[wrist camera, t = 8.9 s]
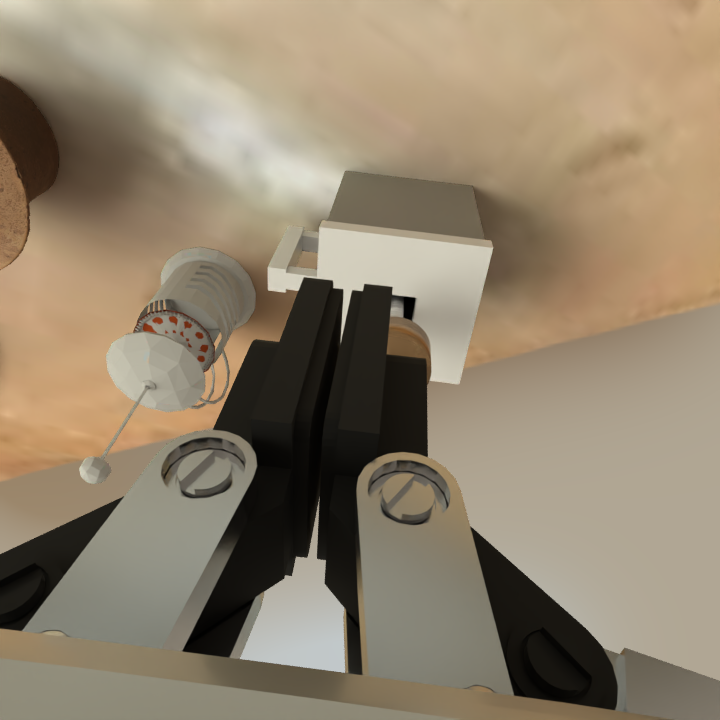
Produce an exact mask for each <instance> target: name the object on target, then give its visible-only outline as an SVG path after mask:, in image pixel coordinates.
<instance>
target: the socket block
mask: <svg viewBox="0 0 720 720" xmlns="http://www.w3.org/2000/svg"><path fill="white" fill-rule="evenodd" d="M302 251H307V252H316V253H318V265H317V269H310V268H302V267H296V266H297V263H298V261H299V259H300V256H301V254H302ZM492 251H493V245H492V241H491V240H485V238H484V233H483V229H482V225H481V220H480V216H479V212H478V208H477V203H476V199H475V195H474V190H473V186H468V185H459V184H451V183H442V182H434V181H425V180H417V179H409V178H400V177H392V176H383V175H375V174H366V173H358V172H349V171H345V173H344V176H343V178H342V181H341V184H340V187H339V190H338V193H337V195H336V198H335V201H334V204H333V207H332V210H331V212H330V215H329V218H328V221H324V220H322V221H321V224H320V227H319V232H314V231H306V230H304V227H299V226H291V225H288V227H287V229H286V231H285V233H284V235H283V237H282V239H281V241H280V243H279V245H278V247H277V249H276V251H275V253H274V255H273V257H272V259H271V261H270V263H269V266H268V291H277V292H285V293H286V291H287V289H288V290H296V291H299V288H300V286H301V283H302V280H303V278H304V277H307V278H316V279H326V280H333V286H334V287H333V288H338V289H343V292H344V294H343V311H342V327H341V340H342V335H343V330H344V325H345V321H346V316H347V311H348V307H349V302H350V297H351V293H352V290H357V291H363V288H364V284H372V285H381V286H390V287H393V290H392V295H398V296H404V308H403V318H406V319H408V320H411V321H413V322H415V323H416V324H418V325H419V326H420V327H421V328H422V329H423V330H424V331H425V332H426V334H427V336H428V338H429V340H430V345H431V377H430V380H429V381H436V382H444V383H452V384H459V383H460V379H461V375H462V371H463V367H464V363H465V359H466V355H467V351H468V347H469V343H470V339H471V335H472V331H473V327H474V323H475V319H476V315H477V311H478V307H479V303H480V299H481V295H482V291H483V287H484V283H485V279H486V275H487V271H488V267H489V263H490V259H491V255H492ZM340 344H341V343H340Z"/></svg>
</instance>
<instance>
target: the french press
mask: <svg viewBox="0 0 720 720" xmlns="http://www.w3.org/2000/svg"><path fill="white" fill-rule="evenodd" d="M163 299H165V305H166V310H163ZM158 300H160V311H158ZM154 301H155V311H154V312H152V311H153V302H154ZM255 301H256V292H255V289H254V286H253V283H252V281H251V278H250V276H249V275H248V274H247V272H246V271H245V270H244V269H243V268H242V267H241V265H240V264H239V263H238V262H237V261H235V260H234V259H232V258H230V257H229V256H227V255H225V254H224V253H222V252H220V251H217V250H212V249H208V248H203V247H195V248H190V249H184V250H180V251H179V252H178V253H176V254H175V255H173V256H172V257H171V258H169V259H168V260H167V262H166V264H165V266H164V268H163V270H162V273H161V288H160V289H159V290H158V292H157V293H156V294H155V295H154V297H153V298H152V299H151V300H150V302H149V303H148V304H147V306H146V307H145V308H144V310H143V311H142V312H141V314H140V316H139V318H138V320H137V325H136V327H135V329H134V331H133V332H134V333H129V334H126V335H124V336H123V337H121V338H119V339H118V340H116V341H114V342H113V343H112V345H111V347H110V349H109V351H108V353H107V355H106V359H107V369H108V373H109V374H110V376H111V378H112V380H113V381H114V383H115V385H116V386H117V387H118V388H119V389H120V390H121V391H122V392H123V393H124V394H125V395H126V396H128V397H129V398H130V399H131V400H133V401H135V402H136V403H135V405H134V406H133V408H132V410H131V411H130V413H129V414H128V416H127V417H126V419H125V421H124V422H123V424H122V425H121V427H120V428H119V430H118V431H117V433H116V435H115V436H114V438H113V439H112V441H111V442H110V444H109V446H108V447H107V449H106V450H105V452H104V453H103V455H102V456H101V458H99V457H88V458H86V459H85V460H84V462H83V463H82V465H81V467H80V469H79V470H80V475H81V477H82V478H83V479H84V480H85V481H86V482H88V483H94V484H96V483H102V482H103V481H105V480H106V478H107V477H108V475H109V474H110V473H111V467H110V465H109V464H108V463H107V462H106V461H105V460H103V459H104V458H105V456H106V455H107V453H108V451H109V450H110V448H111V447H112V445H113V443H114V442H115V440H116V439H117V437H118V436H119V434H120V432H121V431H122V429H123V428H124V426H125V425H126V423H127V421H128V420H129V418H130V417H131V415H132V413H133V412H134V410H135V409H136V407H137V406H138V404H141V405H143V406H145V407H147V408H150V409H155V410H160V411H164V412H172V411H181V410H185V409H187V408H192V409H199V408H201V407H203V406H205V405H206V404H215V403H217V402H219V401H220V400H222V398H223V397H224V395H225V393H226V391H227V388H228V385H229V374H230V371H229V365H228V360H227V357H226V355H225V352H224V347H225V345H226V343H227V341H228V339H229V337H230V335H231V333H232V331H233V330H235V329H237V328H238V327H240V326H242V325H243V324H245V323H247V321H248V320H249V318H250V316H251V315H252V313H253V312H254V310H255ZM149 304H150V312H149V313H148V314H147V308H148V306H149ZM220 332H221V334H222V339H221V341H220V343H219V345H218V347H217V348H216V350H215V346H214V342H215V340H216V338H217V337H218V335H219V333H220ZM221 353H222V354H223V357H224V361H225V364H226V369H227V381H226V385H225V389H224V391H223V394H222V396H221V397H219V398H218V399H217V400H214V401H209V399H210V398H211V396H212V394H213V392H214V382H215V372H214V366H213V363H215V362H216V361H217V359H218V358H219V356H220V355H221ZM210 366H211V370H212V374H213V380H212V387H211V392H210V394H209V396H208V398H207V400H206V401H205V400H204V399H202V398H201V396H202V395H203V393H204V392H205V375H204V372H206V371H207V370H209V368H210ZM199 400H200V401H202V402H204V403H203V404H201V405H199V406H192V405H194V404H196V403H197V402H198V401H199Z"/></svg>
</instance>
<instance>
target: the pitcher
mask: <svg viewBox="0 0 720 720" xmlns="http://www.w3.org/2000/svg"><path fill="white" fill-rule="evenodd" d="M58 166H59V155H58V148H57V144H56V141H55V138H54V135H53V133H52V131H51V129H50V127H49V125H48V123H47V121H46V120H45V119H44V117H43V115H42V114H41V112H40V111H39V110H38V108H37V107H36V105H35V104H34V103H33V102H32V101H31V100H30V99H29V98H28V97H27V96H26V95H25V94H24V93H23V92H22V91H21V90H19V89H18V88H17V87H16V86H14V85H13V84H12V83H10V82H8V81H7V80H5V79H3V78H1V77H0V270H1V269H3V268H4V267H6V266H8V265H9V264H11V263H12V262H13V261H14V260H15V259H16V258H17V257H18V256H19V254H20V253H21V252H22V251H23V249H24V246H25V244H26V242H27V237H28V235H29V230H30V219H29V216H30V207H29V203H30V202H31V201H32V200H33V199H35V198H36V197H37V196H38V195H40V194H42V193H43V192H45V191H46V190H48V189H49V188H50V187H51V185H52V184H53V183H54V181H55V179H56V175H57V172H58Z"/></svg>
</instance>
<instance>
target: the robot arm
mask: <svg viewBox="0 0 720 720" xmlns="http://www.w3.org/2000/svg"><path fill="white" fill-rule="evenodd" d="M333 287H334V286H333V280H326V279H316V278H307V277H304V278H303V280H302V283H301V286H300V288H299V291H298V294H297V296H296V299H295V302H294V304H293V307H292V310H291V312H290V315H289V318H288V320H287V323H286V326H285V328H284V331H283V334H282V336H281V339H280V342H274V341H265V340H254V341H253V342H252V344H251V345H250V348H249V350H248V352H247V354H246V357H245V359H244V361H243V363H242V366H241V368H240V370H239V372H238V375H237V377H236V379H235V381H234V383H233V386H232V388H231V390H230V392H229V395H228V397H227V399H226V401H225V404H224V406H223V408H222V410H221V413H220V415H219V417H218V419H217V422H216V424H215V426H214V428H213V430H204V431H195V432H192V433H189V434H186V435H183V436H180V437H178V438H176V439H175V440H173V441H171V442H170V443H168V444H166V445H165V446H164V447H163V448H162V449H161V450H160V451H159V452H158V453H157V454H156V456H155V457H154V458H153V460H152V461H151V462H150V464H149V465H148V466H147V467H146V469H145V470H144V471H143V473H142V474H141V475H140V477H139V478H138V479H137V481H136V482H135V483H134V485H133V486H132V487H131V488H130V490H129V491H128V492H127V494H126V495H125V496H124V497H122V498H120V499H117V500H115V501H113V502H111V503H109V504H107V505H104V506H102V507H100V508H98V509H96V510H94V511H92V512H90V513H88V514H85V515H83V516H81V517H79V518H77V519H75V520H72V521H70V522H68V523H66V524H64V525H62V526H60V527H58V528H55V529H53V530H51V531H49V532H47V533H45V534H43V535H40V536H38V537H36V538H34V539H32V540H30V541H28V542H26V543H23V544H21V545H19V546H17V547H15V548H13V549H11V550H9V551H6V552H4V553H2V554H0V720H720V681H718V680H716V679H713V678H710V677H707V676H704V675H701V674H698V673H696V672H693V671H690V670H687V669H684V668H681V667H678V666H675V665H673V664H670V663H667V662H664V661H661V660H658V659H656V658H653V657H650V656H647V655H644V654H641V653H638V652H635V651H633V650H630V649H627V648H624V649H623V650H622V652H621V653H620V654H618V653H615V652H612V651H609V650H606V649H604V648H603V647H602V646H601V645H600V644H599V642H598V641H597V640H596V639H595V638H594V637H593V636H592V635H591V634H590V632H589V631H588V630H587V629H586V628H585V627H583V626H582V625H581V624H580V623H579V622H578V621H577V620H576V619H574V618H573V617H572V616H571V615H570V614H569V613H568V612H567V611H565V610H564V609H563V608H562V607H561V606H560V605H559V604H558V603H556V602H555V601H554V600H553V599H552V598H551V597H550V596H548V595H547V594H546V593H545V592H544V591H543V590H542V589H541V588H539V587H538V586H537V585H536V584H535V583H534V582H533V581H532V580H530V579H529V578H528V577H527V576H526V575H525V574H524V573H523V572H521V571H520V570H519V569H518V568H517V567H516V566H515V565H513V564H512V563H511V562H510V561H509V560H508V559H507V558H506V557H504V556H503V555H502V554H501V553H500V552H499V551H498V550H497V549H495V548H494V547H493V546H492V545H491V544H490V543H489V542H488V541H486V540H485V539H484V538H483V537H482V536H481V535H480V534H479V533H477V532H476V531H475V530H474V529H473V528H472V527H471V526H470V524H469V520H468V516H467V513H466V509H465V505H464V501H463V497H462V493H461V490H460V488H459V486H458V483H457V481H456V479H455V478H454V476H453V475H452V474H451V473H450V472H449V471H448V470H447V469H446V468H445V467H444V466H442V465H441V464H439V463H438V462H436V461H435V460H433V459H430V458H428V450H427V449H428V445H427V443H428V440H427V361H426V358H417V357H408V356H399V355H390V354H387V345H388V334H389V323H390V312H391V301H392V290H393V287H390V286H381V285H372V284H364V288H363V291H357V290H352V293H351V297H350V302H349V307H348V311H347V316H346V321H345V325H344V330H343V335H342V340H341V327H342V311H343V294H344V292H343V289H338V288H333ZM340 343H341V344H340ZM319 496H320V502H319V524H318V525H319V526H318V546H317V559H321V560H326V570H325V584H326V586H327V587H328V588H329V589H330V591H331V592H332V593H333V594H334V595H335V597H336V598H337V599H338V600H339V602H340V603H341V604H342V605H343V606H344V617H343V618H344V647H345V673H341V672H334V671H326V670H318V669H311V668H303V667H295V666H288V665H280V664H273V663H265V662H257V661H250V660H242V659H240V657H241V654H242V652H243V649H244V647H245V645H246V642H247V640H248V637H249V635H250V633H251V630H252V628H253V625H254V623H255V620H256V618H257V616H258V613H259V611H260V608H261V605H262V601H263V597H264V591H266V590H267V589H269V588H270V587H272V586H273V585H275V584H276V583H278V582H279V581H281V580H282V579H284V576H285V575H289V576H292V573H293V568H294V563H295V558H296V556H297V557H306V558H307V556H308V553H309V548H310V543H311V538H312V532H313V527H314V522H315V517H316V511H317V506H318V501H319Z"/></svg>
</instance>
